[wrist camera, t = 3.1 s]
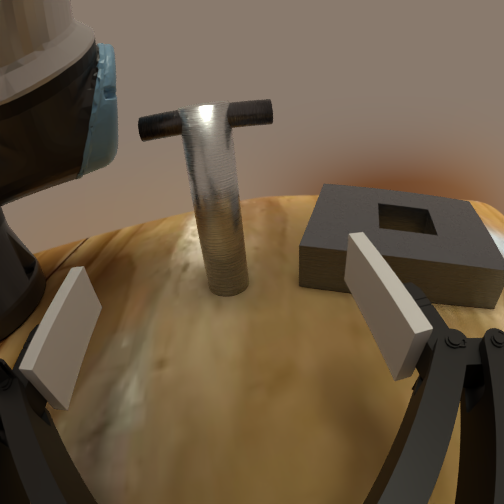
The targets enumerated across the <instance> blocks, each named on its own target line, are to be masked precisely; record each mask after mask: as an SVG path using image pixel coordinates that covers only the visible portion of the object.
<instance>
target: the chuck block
mask: <svg viewBox="0 0 504 504" xmlns="http://www.w3.org/2000/svg"><path fill="white" fill-rule="evenodd" d="M359 232H363V233H364V234H365V235H366V236H367V238H368V239H369V240H370V242H371V243H372V244H373V245H374V247H375V248H376V249H377V250H378V252H379V253H380V254H381V256H382V257H383V258H384V260H385V261H386V262H387V264H388V265H389V266H390V268H391V269H392V270H393V272H394V273H395V274H396V276H397V277H398V278H399V280H400V281H401V282H402V284H404V283H409V282H412V283H413V284H414V285H416V286H417V287H419V288H420V289H421V290H422V291H423V293H424V294H425V295H426V297H427V299H429V301H430V302H431V303H440V304H449V305H459V306H469V307H479V308H490V309H494V308H495V306H496V303H497V301H498V299H499V297H500V295H501V292H502V290H503V288H504V258H503V257H502V255H501V253H500V251H499V249H498V247H497V246H496V244H495V242H494V240H493V239H492V237H491V235H490V234H489V232H488V230H487V229H486V227H485V225H484V224H483V222H482V220H481V219H480V217H479V216H478V214H477V213H476V211H475V210H474V208H473V207H472V205H471V204H470V202H469V201H463V200H457V199H451V198H444V197H438V196H430V195H424V194H416V193H409V192H401V191H392V190H384V189H375V188H366V187H356V186H345V185H333V184H324V185H323V187H322V190H321V192H320V195H319V197H318V200H317V202H316V205H315V208H314V210H313V213H312V215H311V218H310V220H309V223H308V225H307V228H306V230H305V232H304V235H303V237H302V240H301V242H300V245H299V286H302V287H309V288H316V289H324V290H331V291H339V292H347V293H351V292H350V290H349V288H348V286H347V284H346V282H345V280H344V277H345V267H346V258H347V247H348V235H349V234H350V233H359Z"/></svg>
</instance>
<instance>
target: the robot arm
mask: <svg viewBox="0 0 504 504" xmlns="http://www.w3.org/2000/svg"><path fill="white" fill-rule="evenodd" d="M115 93H116V66H115V54H114V49H113V47H112V46H111V45H110V44H103V43H101V44H97V45H96V43H95V35H94V31H93V29H92V28H91V27H90V26H88V25H86V24H84V23H82V22H80V21H78V20H75V19H74V18H73V16H72V10H71V0H0V340H2V339H3V338H5V337H6V336H8V335H9V334H10V333H12V332H13V331H14V330H15V329H16V328H17V327H18V326H20V325H21V324H22V323H23V322H24V321H25V319H26V318H27V317H28V316H29V315H30V314H31V313H32V311H33V310H34V309H35V307H36V306H37V304H38V303H39V301H40V299H41V297H42V295H43V292H44V290H45V285H46V278H45V275H44V273H43V271H42V269H41V267H40V265H39V262H38V261H37V259H36V258H35V256H34V255H33V254H32V253H31V252H30V251H29V250H28V248H27V247H26V246H25V245H24V244H23V243H22V241H21V240H20V239H19V238H18V237H17V236H16V234H15V233H14V232H13V231H12V229H11V228H10V227H9V225H8V224H7V221H6V219H5V217H4V214H3V211H2V208H1V206H3V205H5V204H8V203H10V202H13V201H15V200H18V199H20V198H23V197H25V196H28V195H31V194H33V193H36V192H39V191H41V190H44V189H47V188H50V187H53V186H56V185H59V184H62V183H64V182H68V181H71V180H74V179H79V178H81V177H82V176H83V175H85V174H88V173H90V172H93V171H95V170H98V169H100V168H103V167H105V166H107V165H109V163H111V162H112V161H113V159H114V158H115V156H116V153H117V149H118V115H117V97H116V94H115ZM344 280H345V282H346V284H347V286H348V288H349V290H350V292H351V294H352V295H353V297H354V299H355V301H356V303H357V305H358V307H359V309H360V311H361V313H362V315H363V317H364V319H365V321H366V323H367V325H368V327H369V329H370V331H371V333H372V335H373V337H374V339H375V341H376V343H377V345H378V347H379V349H380V351H381V353H382V355H383V357H384V359H385V362H386V364H387V366H388V368H389V370H390V372H391V374H392V377H393V379H394V381H398V380H401V379H404V378H407V377H410V376H412V374H413V372H414V370H415V368H416V369H417V370H418V372H419V374H420V375H419V377H418V378H417V380H416V382H415V384H414V386H413V388H412V390H413V393H412V396H411V399H410V402H409V405H408V408H407V410H406V413H405V416H404V418H403V421H402V423H401V426H400V428H399V431H398V433H397V436H396V438H395V440H394V443H393V445H392V447H391V450H390V452H389V454H388V456H387V458H386V460H385V463H384V465H383V467H382V469H381V471H380V473H379V475H378V477H377V479H376V481H375V483H374V485H373V487H372V488H371V490H370V492H369V494H368V496H367V498H366V499H365V501H364V503H363V504H427V503H428V501H429V499H430V496H431V494H432V491H433V489H434V486H435V484H436V481H437V478H438V476H439V473H440V470H441V467H442V464H443V461H444V458H445V455H446V452H447V449H448V445H449V442H450V439H451V435H452V431H453V428H454V424H455V420H456V416H457V412H458V407H459V403H460V409H461V435H460V459H459V472H458V482H457V491H456V499H455V504H504V332H503V331H501V330H499V329H496V328H492V329H489V330H487V331H486V333H485V335H484V337H483V338H466V336H465V335H464V334H463V333H462V332H460V331H458V330H456V329H449V328H448V326H447V325H446V323H445V322H444V320H443V319H442V317H441V316H440V315H439V313H438V312H437V310H436V309H435V308H434V306H433V305H431V302H430V301H429V299H427V297H426V295H425V294H424V293H423V291H422V290H421V289H420V288H419V287H417V286H416V285H414V284H413V283H412V282H409V283H404V284H402V282H401V281H400V280H399V278H398V277H397V276H396V274H395V273H394V272H393V270H392V269H391V268H390V266H389V265H388V264H387V262H386V261H385V260H384V258H383V257H382V256H381V254H380V253H379V252H378V250H377V249H376V248H375V247H374V245H373V244H372V243H371V242H370V240H369V239H368V238H367V236H366V235H365V234H364V233H363V232H359V233H350V234H349V235H348V247H347V258H346V267H345V277H344ZM101 309H102V306H101V304H100V302H99V300H98V298H97V295H96V293H95V291H94V289H93V286H92V284H91V282H90V280H89V277H88V275H87V273H86V270H85V268H84V266H81V267H73V268H71V270H70V272H69V273H68V275H67V277H66V278H65V280H64V282H63V283H62V285H61V287H60V288H59V290H58V292H57V294H56V295H55V297H54V299H53V301H52V302H51V304H50V306H49V308H48V310H47V312H46V313H45V315H44V317H43V319H42V321H41V323H40V324H38V325H37V326H36V327H35V328H34V329H33V330H32V331H31V332H30V334H29V336H28V338H27V340H26V341H27V342H25V344H24V346H23V349H22V350H21V353H20V355H19V357H18V359H17V361H16V363H15V366H14V368H13V370H11V368H10V367H9V366H8V365H7V363H6V362H5V361H4V360H3V359H0V504H30V502H31V504H97V502H96V501H95V499H94V497H93V496H92V494H91V493H90V491H89V489H88V488H87V486H86V485H85V483H84V481H83V479H82V478H81V476H80V474H79V472H78V471H77V469H76V467H75V465H74V463H73V462H72V460H71V458H70V456H69V454H68V452H67V450H66V448H65V446H64V444H63V442H62V440H61V438H60V436H59V433H58V431H57V429H56V427H55V425H54V422H53V420H52V418H51V415H50V413H49V411H48V410H47V408H46V407H45V406H46V403H47V402H48V403H49V404H50V405H51V406H52V407H53V408H54V409H60V410H68V408H69V404H70V400H71V397H72V394H73V390H74V387H75V383H76V380H77V377H78V374H79V371H80V368H81V364H82V361H83V358H84V355H85V353H86V350H87V347H88V344H89V341H90V338H91V336H92V333H93V330H94V327H95V325H96V322H97V319H98V317H99V314H100V312H101Z"/></svg>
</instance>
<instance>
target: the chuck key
mask: <svg viewBox="0 0 504 504" xmlns="http://www.w3.org/2000/svg"><path fill="white" fill-rule="evenodd" d="M272 123H273V110H272V104H271V100H270V99H266V100H254V101H242V102H232V103H229V101H219V102H208V103H201V104H196V105H190V106H185V107H181V108H179V109H178V110H176V111H170V112H164V113H159V114H154V115H149V116H145V117H141V118H139V121H138V129H139V134H140V137H141V140H142V141H143V142H145V141H149V140H154V139H160V138H165V137H171V136H177V135H182V141H183V148H184V154H185V160H186V167H187V173H188V179H189V184H190V190H191V196H192V201H193V207H194V213H195V218H196V224H197V229H198V234H199V239H200V245H201V250H202V255H203V260H204V265H205V269H206V274H207V279H208V284H209V288H210V290H211V291H212V292H213V293H214V294H216V295H219V296H233V295H236V294H239V293H241V292H242V291H244V290H245V289H246V288H247V286H248V284H249V278H248V269H247V261H246V252H245V243H244V234H243V225H242V216H241V207H240V198H239V188H238V179H237V170H236V161H235V152H234V142H233V133H232V128H235V127H244V126H255V125H266V124H272Z"/></svg>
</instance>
